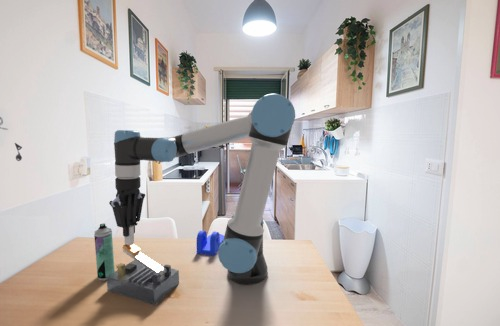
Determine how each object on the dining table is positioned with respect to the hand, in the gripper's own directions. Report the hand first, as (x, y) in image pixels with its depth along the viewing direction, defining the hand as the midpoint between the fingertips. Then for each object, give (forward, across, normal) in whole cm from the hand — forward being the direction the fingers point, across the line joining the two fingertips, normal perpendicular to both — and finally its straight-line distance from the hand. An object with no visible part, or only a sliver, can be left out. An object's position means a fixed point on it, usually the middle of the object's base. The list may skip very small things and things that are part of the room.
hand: (129, 243), depth 85 cm
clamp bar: (+5, 0, +6) cm, 8 cm away
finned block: (+14, 0, +6) cm, 16 cm away
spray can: (+16, 0, -12) cm, 19 cm away
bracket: (+14, -37, +12) cm, 41 cm away
